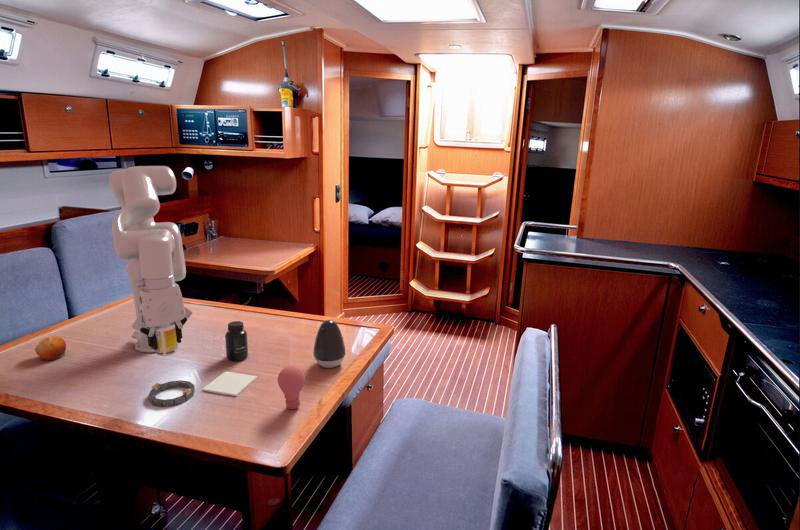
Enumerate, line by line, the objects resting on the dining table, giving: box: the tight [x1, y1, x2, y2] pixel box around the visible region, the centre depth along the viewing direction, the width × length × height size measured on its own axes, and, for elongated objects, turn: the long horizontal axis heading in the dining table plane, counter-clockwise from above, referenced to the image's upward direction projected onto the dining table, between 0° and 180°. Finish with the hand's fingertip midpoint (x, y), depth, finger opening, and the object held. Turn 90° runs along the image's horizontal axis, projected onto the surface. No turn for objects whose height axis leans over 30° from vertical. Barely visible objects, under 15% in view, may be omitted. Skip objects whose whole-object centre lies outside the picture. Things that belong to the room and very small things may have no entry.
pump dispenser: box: [313, 319, 346, 369], centre depth 150 cm, size 10×10×15 cm
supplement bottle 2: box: [224, 320, 249, 362], centre depth 154 cm, size 7×7×12 cm
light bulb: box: [277, 365, 306, 410], centre depth 126 cm, size 7×7×12 cm
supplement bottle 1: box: [154, 323, 179, 357], centre depth 127 cm, size 6×6×10 cm
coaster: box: [202, 371, 258, 397], centre depth 138 cm, size 11×11×1 cm
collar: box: [147, 379, 196, 408], centre depth 131 cm, size 11×11×2 cm
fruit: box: [34, 335, 67, 361], centre depth 152 cm, size 8×8×8 cm
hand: (166, 344), depth 128 cm, fingers closed on supplement bottle 1, 5 cm apart
